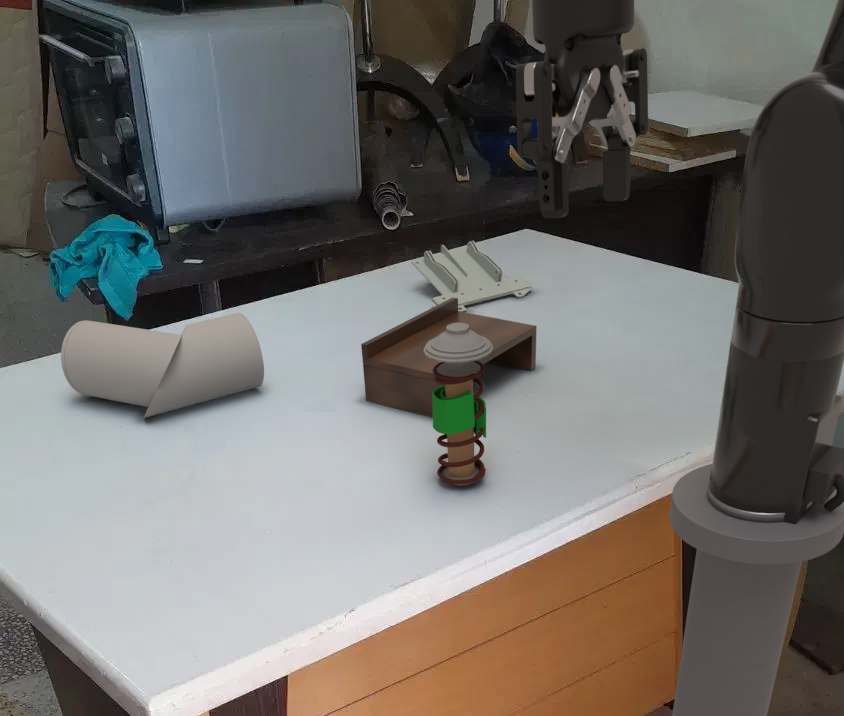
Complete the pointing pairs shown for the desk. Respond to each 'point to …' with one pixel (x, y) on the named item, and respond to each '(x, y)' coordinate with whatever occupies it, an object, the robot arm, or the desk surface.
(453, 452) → the shock absorber
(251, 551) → the desk surface
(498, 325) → the shelf
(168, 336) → the elbow connector
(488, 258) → the metal bracket
